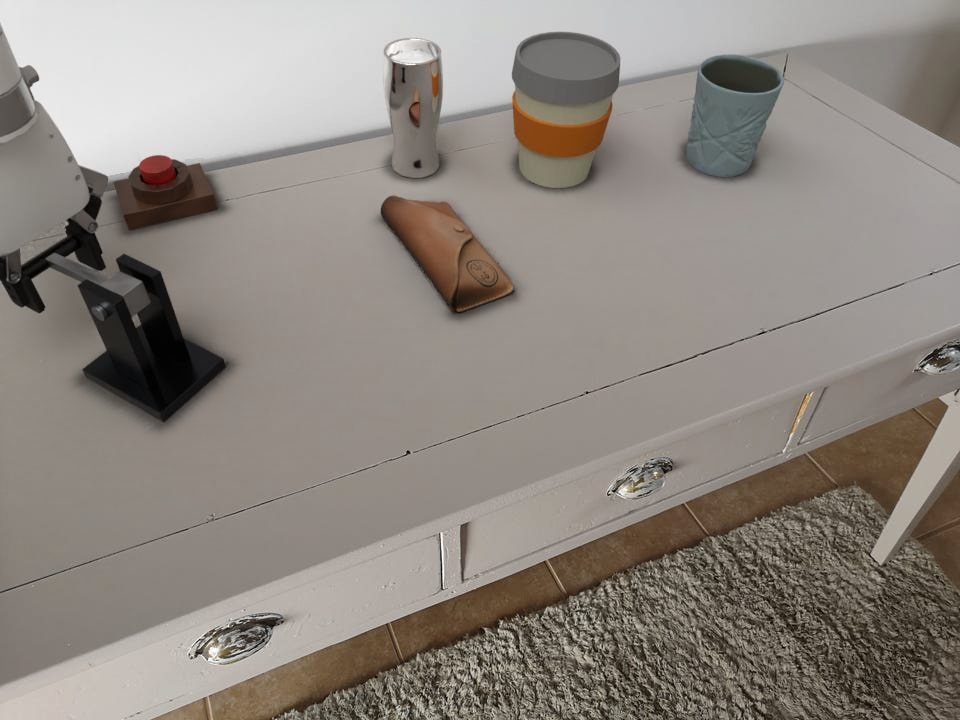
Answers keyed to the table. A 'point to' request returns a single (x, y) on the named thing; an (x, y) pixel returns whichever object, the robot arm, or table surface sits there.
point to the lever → (87, 273)
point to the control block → (165, 196)
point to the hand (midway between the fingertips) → (62, 283)
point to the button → (157, 170)
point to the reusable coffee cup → (562, 104)
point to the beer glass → (413, 103)
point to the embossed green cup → (730, 112)
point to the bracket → (146, 346)
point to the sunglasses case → (447, 252)
